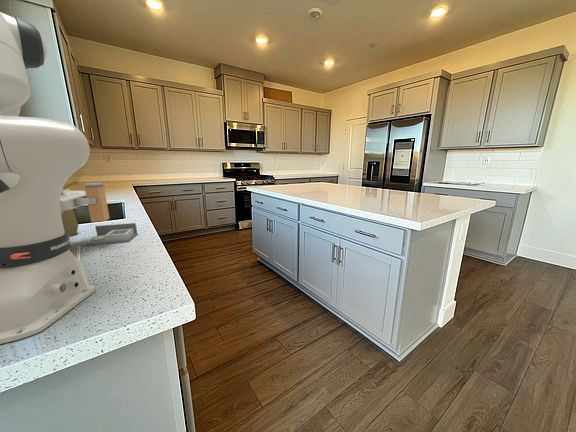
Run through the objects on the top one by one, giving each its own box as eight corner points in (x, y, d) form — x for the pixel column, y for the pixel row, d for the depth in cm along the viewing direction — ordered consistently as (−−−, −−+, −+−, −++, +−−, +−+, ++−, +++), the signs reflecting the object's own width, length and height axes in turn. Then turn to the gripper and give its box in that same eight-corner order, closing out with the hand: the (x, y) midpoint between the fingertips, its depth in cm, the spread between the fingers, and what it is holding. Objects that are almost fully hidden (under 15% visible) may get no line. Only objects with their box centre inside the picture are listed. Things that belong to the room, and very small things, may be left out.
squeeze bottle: (68, 238, 97) (57, 194, 93) (48, 238, 97) (37, 194, 93) (85, 232, 105) (76, 191, 100) (67, 232, 105) (57, 191, 101)
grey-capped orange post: (106, 221, 84) (98, 184, 80) (88, 222, 82) (80, 184, 79) (112, 217, 88) (105, 182, 85) (95, 218, 87) (88, 183, 84)
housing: (128, 242, 91) (126, 229, 90) (85, 246, 88) (82, 232, 86) (137, 234, 101) (135, 223, 99) (98, 237, 97) (96, 225, 96)
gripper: (25, 196, 70) (82, 194, 73) (67, 188, 89) (110, 187, 92) (31, 217, 71) (86, 214, 75) (71, 205, 90) (113, 203, 94)
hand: (99, 199), depth 84 cm, fingers closed on grey-capped orange post, 4 cm apart
